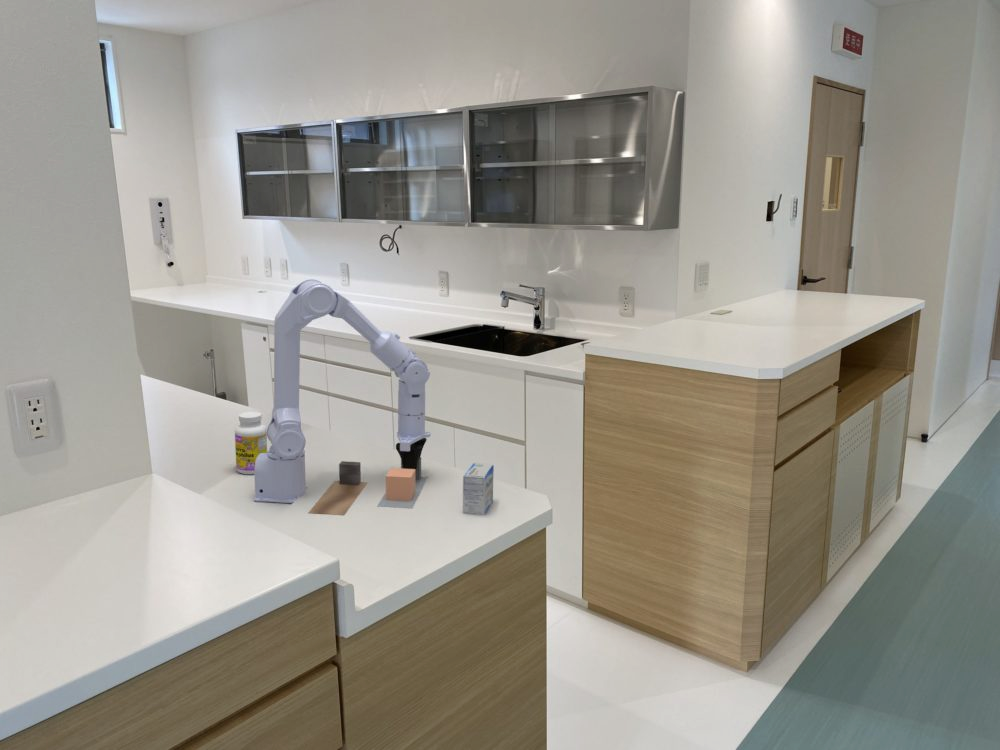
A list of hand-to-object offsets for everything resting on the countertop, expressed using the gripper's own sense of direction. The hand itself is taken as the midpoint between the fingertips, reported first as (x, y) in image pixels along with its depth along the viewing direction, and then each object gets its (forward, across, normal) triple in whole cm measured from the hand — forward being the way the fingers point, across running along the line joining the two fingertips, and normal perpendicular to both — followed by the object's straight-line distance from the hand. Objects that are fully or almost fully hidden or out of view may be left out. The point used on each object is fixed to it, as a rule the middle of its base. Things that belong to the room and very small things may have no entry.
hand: (411, 473), depth 163 cm
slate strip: (+2, -7, 0) cm, 7 cm away
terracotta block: (+1, -11, 0) cm, 11 cm away
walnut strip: (+2, -12, +12) cm, 17 cm away
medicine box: (+2, -14, -16) cm, 22 cm away
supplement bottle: (+2, +2, +36) cm, 36 cm away
